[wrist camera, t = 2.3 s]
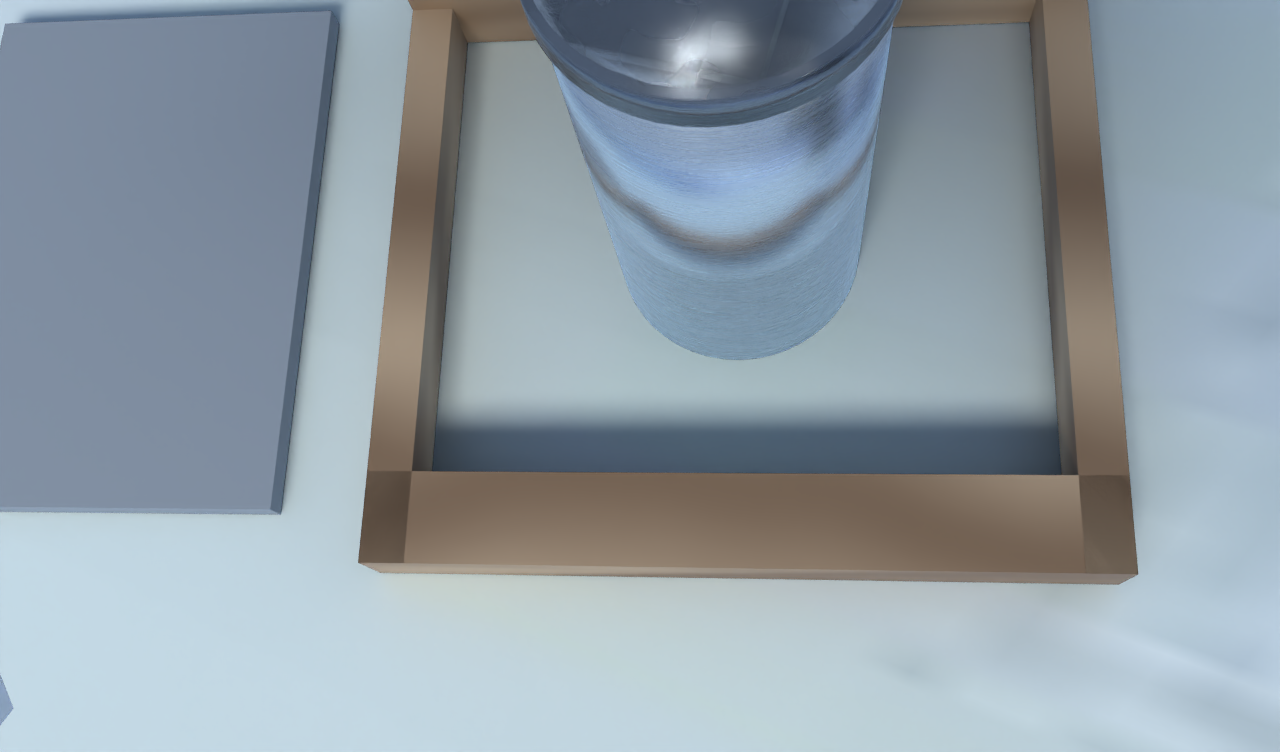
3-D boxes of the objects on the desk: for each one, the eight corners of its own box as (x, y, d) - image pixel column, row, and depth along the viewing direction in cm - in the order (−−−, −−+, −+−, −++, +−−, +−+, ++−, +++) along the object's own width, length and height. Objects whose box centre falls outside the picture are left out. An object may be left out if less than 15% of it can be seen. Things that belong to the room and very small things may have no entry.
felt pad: (281, 514, 28) (270, 509, 28) (-80, 510, 29) (-98, 505, 29) (338, 24, 32) (331, 10, 31) (18, 36, 33) (5, 23, 32)
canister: (868, 365, 28) (926, 91, 16) (610, 366, 28) (493, 105, 17) (863, 132, 29) (911, -263, 18) (620, 138, 30) (519, -238, 19)
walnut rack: (1118, 584, 26) (1285, 498, 17) (380, 572, 27) (197, 490, 19) (1066, -50, 30) (1176, -368, 22) (436, -23, 32) (309, -306, 24)
